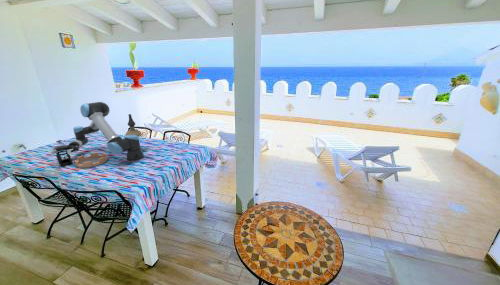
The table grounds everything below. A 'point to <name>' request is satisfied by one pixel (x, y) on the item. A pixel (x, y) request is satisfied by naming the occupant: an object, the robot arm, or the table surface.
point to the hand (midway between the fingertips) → (59, 153)
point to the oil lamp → (132, 128)
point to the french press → (66, 159)
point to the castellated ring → (90, 160)
